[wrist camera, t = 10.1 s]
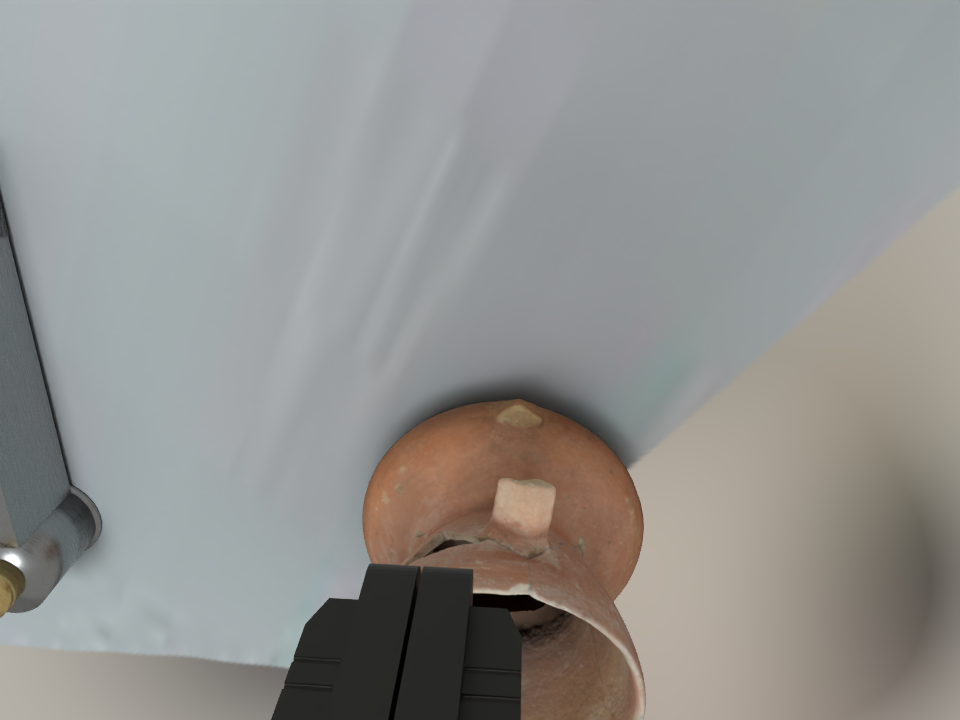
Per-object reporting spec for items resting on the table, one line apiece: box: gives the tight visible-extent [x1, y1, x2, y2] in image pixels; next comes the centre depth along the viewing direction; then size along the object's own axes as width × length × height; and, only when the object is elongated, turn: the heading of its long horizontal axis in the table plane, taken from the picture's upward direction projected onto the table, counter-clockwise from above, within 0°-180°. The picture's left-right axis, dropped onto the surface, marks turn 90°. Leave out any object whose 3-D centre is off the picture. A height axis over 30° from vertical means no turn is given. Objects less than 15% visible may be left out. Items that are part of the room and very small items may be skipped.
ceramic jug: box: [363, 399, 646, 720], centre depth 37 cm, size 18×14×14 cm
